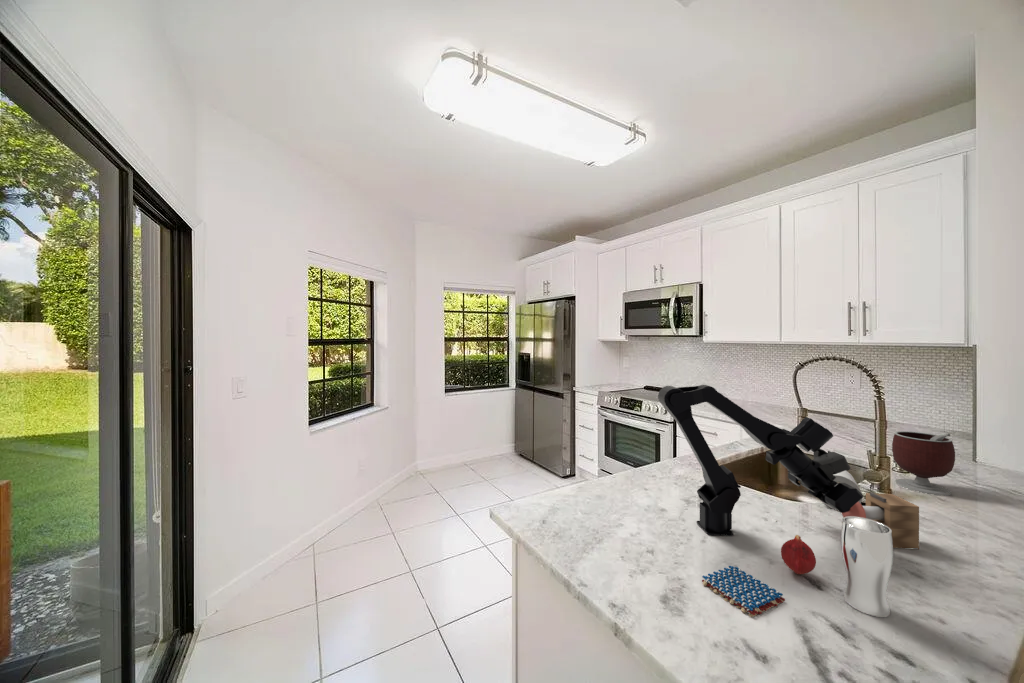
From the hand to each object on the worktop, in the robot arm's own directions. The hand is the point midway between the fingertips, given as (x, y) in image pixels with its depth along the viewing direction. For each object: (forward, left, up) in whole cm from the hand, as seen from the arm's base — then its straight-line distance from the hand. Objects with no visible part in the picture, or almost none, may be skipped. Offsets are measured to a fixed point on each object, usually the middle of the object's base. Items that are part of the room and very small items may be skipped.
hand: (847, 510), depth 91 cm
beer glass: (-17, -24, -7) cm, 30 cm away
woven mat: (-38, -21, -7) cm, 44 cm away
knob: (+4, -1, -3) cm, 5 cm away
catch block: (+9, -1, -7) cm, 12 cm away
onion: (-23, -15, -7) cm, 28 cm away
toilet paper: (+13, +19, -7) cm, 24 cm away
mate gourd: (+51, +31, -7) cm, 61 cm away
